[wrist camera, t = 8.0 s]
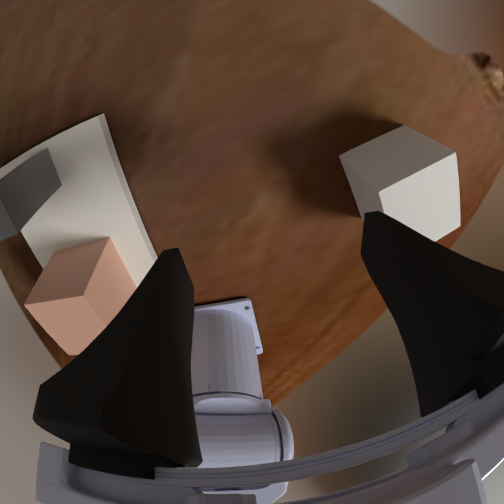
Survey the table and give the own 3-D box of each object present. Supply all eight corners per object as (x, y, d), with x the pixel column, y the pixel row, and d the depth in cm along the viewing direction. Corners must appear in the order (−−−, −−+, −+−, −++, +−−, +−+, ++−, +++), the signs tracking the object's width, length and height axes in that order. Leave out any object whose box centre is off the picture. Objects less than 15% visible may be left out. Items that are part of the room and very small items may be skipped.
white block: (403, 124, 17) (456, 151, 12) (417, 187, 20) (460, 225, 15) (337, 155, 18) (378, 192, 13) (360, 217, 22) (395, 264, 17)
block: (140, 293, 22) (127, 352, 17) (86, 302, 22) (68, 355, 18) (110, 236, 19) (83, 295, 14) (54, 252, 19) (23, 304, 14)
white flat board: (174, 292, 24) (166, 361, 18) (78, 307, 24) (59, 364, 18) (104, 113, 14) (47, 143, 9) (0, 168, 14) (-53, 213, 9)
